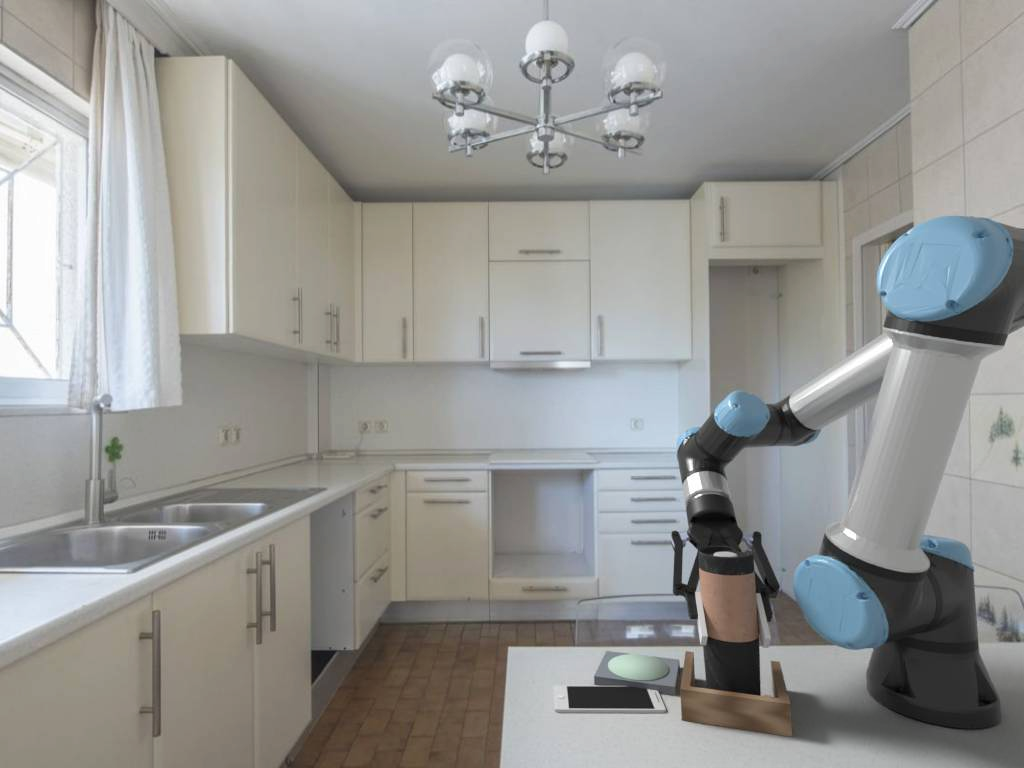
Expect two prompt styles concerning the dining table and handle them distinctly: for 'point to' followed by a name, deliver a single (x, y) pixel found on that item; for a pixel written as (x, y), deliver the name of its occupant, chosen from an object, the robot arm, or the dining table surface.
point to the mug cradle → (736, 704)
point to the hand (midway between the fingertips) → (735, 641)
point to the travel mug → (730, 620)
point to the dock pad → (638, 672)
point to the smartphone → (607, 699)
